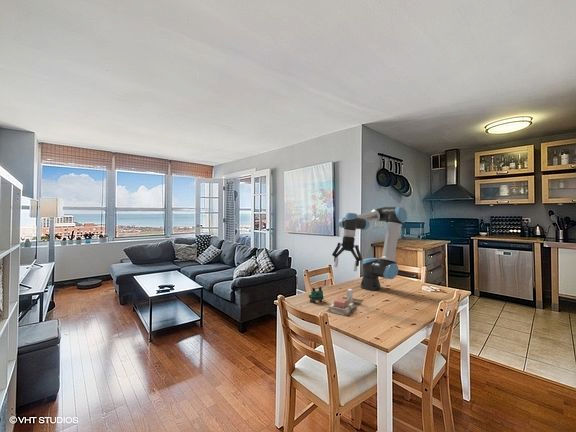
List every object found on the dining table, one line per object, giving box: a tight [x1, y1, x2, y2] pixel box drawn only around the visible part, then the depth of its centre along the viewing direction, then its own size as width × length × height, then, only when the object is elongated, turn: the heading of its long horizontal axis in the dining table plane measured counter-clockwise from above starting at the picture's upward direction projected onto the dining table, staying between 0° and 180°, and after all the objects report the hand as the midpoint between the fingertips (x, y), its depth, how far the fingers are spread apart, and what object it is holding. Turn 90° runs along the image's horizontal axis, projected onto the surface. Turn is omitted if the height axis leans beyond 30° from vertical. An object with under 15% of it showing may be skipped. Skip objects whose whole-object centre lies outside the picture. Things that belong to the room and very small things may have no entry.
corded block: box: [333, 288, 354, 309], centre depth 160 cm, size 22×6×8 cm, turn 148°
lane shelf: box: [326, 296, 364, 317], centre depth 162 cm, size 30×14×4 cm, turn 148°
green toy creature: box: [308, 286, 324, 304], centre depth 170 cm, size 9×11×10 cm
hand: (345, 269), depth 167 cm, fingers open, 13 cm apart
